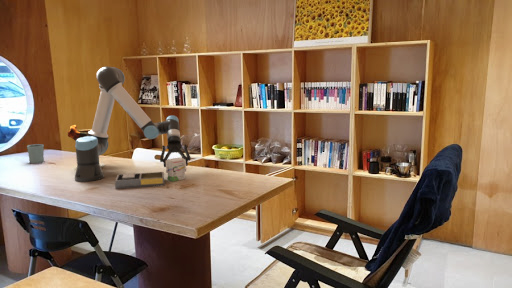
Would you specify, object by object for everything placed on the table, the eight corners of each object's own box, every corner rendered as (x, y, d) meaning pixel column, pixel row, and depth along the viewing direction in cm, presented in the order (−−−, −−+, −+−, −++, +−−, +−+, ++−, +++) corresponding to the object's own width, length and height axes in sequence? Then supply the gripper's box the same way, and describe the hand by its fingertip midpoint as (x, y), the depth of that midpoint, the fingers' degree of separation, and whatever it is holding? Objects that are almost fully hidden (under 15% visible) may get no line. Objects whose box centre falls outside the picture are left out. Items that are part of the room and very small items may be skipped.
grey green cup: (40, 160, 278) (39, 143, 277) (48, 162, 273) (46, 145, 271) (25, 162, 270) (24, 145, 268) (32, 164, 264) (31, 147, 263)
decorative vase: (114, 166, 254) (108, 123, 249) (75, 173, 241) (69, 128, 236) (106, 161, 271) (100, 121, 266) (69, 167, 258) (63, 125, 253)
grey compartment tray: (115, 189, 201) (115, 179, 200) (118, 182, 215) (117, 173, 214) (164, 185, 207) (164, 176, 206) (163, 179, 221) (163, 170, 220)
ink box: (172, 181, 216) (171, 160, 214) (167, 180, 219) (166, 159, 217) (185, 178, 222) (184, 158, 220) (180, 177, 225) (179, 157, 223)
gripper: (192, 141, 236) (196, 173, 223) (154, 143, 230) (155, 175, 218) (193, 134, 230) (196, 166, 217) (154, 135, 225) (155, 168, 212)
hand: (176, 170), depth 217 cm, fingers closed on ink box, 9 cm apart
